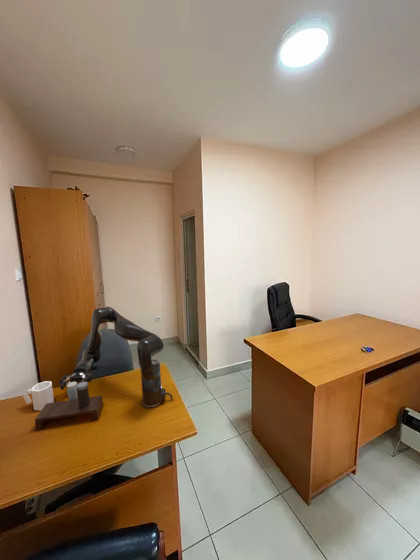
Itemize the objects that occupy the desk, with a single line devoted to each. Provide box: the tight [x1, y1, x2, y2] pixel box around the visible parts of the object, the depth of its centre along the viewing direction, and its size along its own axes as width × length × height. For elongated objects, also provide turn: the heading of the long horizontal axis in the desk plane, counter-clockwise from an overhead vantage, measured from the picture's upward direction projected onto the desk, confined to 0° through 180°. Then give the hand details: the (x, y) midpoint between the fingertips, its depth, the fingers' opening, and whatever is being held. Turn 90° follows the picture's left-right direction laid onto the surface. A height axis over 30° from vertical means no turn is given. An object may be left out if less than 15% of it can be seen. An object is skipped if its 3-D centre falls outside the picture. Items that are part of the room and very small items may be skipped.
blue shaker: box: [66, 381, 78, 401], centre depth 111 cm, size 4×4×10 cm
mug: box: [22, 380, 55, 412], centre depth 109 cm, size 12×9×10 cm
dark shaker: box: [77, 381, 90, 408], centre depth 102 cm, size 4×4×10 cm
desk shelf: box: [34, 395, 104, 431], centre depth 102 cm, size 24×10×5 cm, turn 102°
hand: (71, 386), depth 110 cm, fingers open, 8 cm apart
